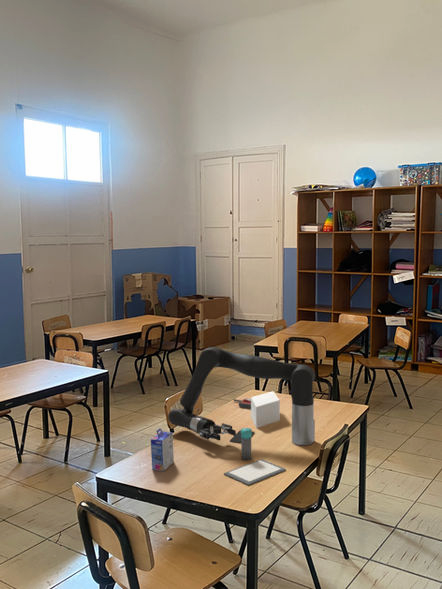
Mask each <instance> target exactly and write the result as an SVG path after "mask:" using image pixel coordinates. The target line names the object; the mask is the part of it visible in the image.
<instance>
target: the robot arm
mask: <svg viewBox="0 0 442 589" xmlns="http://www.w3.org/2000/svg"><path fill="white" fill-rule="evenodd" d="M215 368H224V369H230V370H232V371H236V372H238V373H240V374H242V375H245V376H248V377H250V378H251V377H252V378H257V379H265V380H270V379H271V380H273V379H274V380H278V379H279V380H287V381H290V394H291V395H290V396H291V442H292V443H293V444H294V445H297V446H310V445H312V444H313V443H314V442H315V436H316V433H315V432H316V431H315V430H316V429H315V428H316V427H315V426H316V424H315V423H316V421H315V418H314V411H315V410H314V407H315V405H314V404H315V403H314V402H315V399H314V395H313V394H314V393H313V392H314V391H313V390H314V389H313V387H314V386H313V385H314V384H313V383H314V381H315V379H316V373H315V369H313V367H311V366H310V365H306V364H299V363H289V362H283V361H279V360H276V359H271V358H267V357H262V356H257V355H251V354H245V353H237V352H236V353H235V352H231V351H227V350H224V349H222V348H218V347H215V346H214V347H213V346H211V347H207V348H205V349H203V350H202V351H201V352H200V354H199V358H198V360H197V363H196V366H195V369H194V371H193V374H192V376H191V378H190V381H189V383H188V384H187V386H186V388H185V389H184V391H183V393H182V395H181V397H180V398H179V399H180V400H179V404H180V405H181V406H182V407H183V409H179V408H173V409H171V410H170V411H169V412H168V415H167V418H168V421H169V423H171V424H172V425H173V426H178V427H180V428H181V427H182V428H185V429H187V430H190V431H192V432H194V433H195V434H197V435H199V437H201V438H203V439H205V440H213V439H214V440H216V441H221V438H222V437H221V435H225V434H228V435H231V436H232V437H234V436H235V435H236V434H237V433H236V430H235V429H233V425H230V424H227V423H221V425H219V424H216V422H215V421H214V420H213V419H210V418H207V417H205V416H202V415H198V414H195V413H194V408H195V406H196V403H197V401H198V400H199V398H200V396H201V394H202V391H203V387H204V385H205V381H206V380H207V377H208V376H209V374H210V373H211V372H212V370H213V369H215Z"/></svg>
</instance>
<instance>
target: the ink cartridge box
mask: <svg viewBox="0 0 442 589" xmlns="http://www.w3.org/2000/svg"><path fill="white" fill-rule="evenodd" d="M155 431H156V432H155V433H156V435H154V436H153V437H152V438H151V439H150V450H151V451H150V452H151V454H150V455H151V468H152V470H153V471H160V472H164V471H165V470H166V469H168V467H170V466H171V465H172V464H173V463H174V462H175V461H174V458H175V457H174V456H175V455H174V454H175V453H174V437H173V436H174V434H173V432H171V431H163V430H162V428H158V429H157V430H155Z"/></svg>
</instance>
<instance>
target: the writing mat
mask: <svg viewBox="0 0 442 589" xmlns="http://www.w3.org/2000/svg"><path fill="white" fill-rule="evenodd" d="M286 470H287V469H286V468H284V467H282V466H279V465H278V464H275V463H273V462H270V461H267V460H264V459H262V458H261V459H258V460H255V461H253V462H250V463H248V464H245V465H242V466H239V467H237V468H234V469H232V470H229V471H226V472H224V473H223V475H224V476H226V477H228V478H230V479H233V480H234V481H236V482H239V483H241V482H242V484H243V485H246V486H248V485H249V486H251V485H253V484H256V483H258V481H259V482H261V481H263V480H266V479H268V478H271V477H273V476H276V475H278V474H280V473H282V472H285V471H286Z"/></svg>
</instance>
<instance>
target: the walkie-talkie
mask: <svg viewBox="0 0 442 589" xmlns="http://www.w3.org/2000/svg"><path fill="white" fill-rule="evenodd" d="M233 400H234V401H233ZM232 401H233V402H238V407H239V409H240V408H241V409H247V410H251V398H246V397H245V398H243V399H235V398H234V399H233V398H232Z"/></svg>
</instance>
